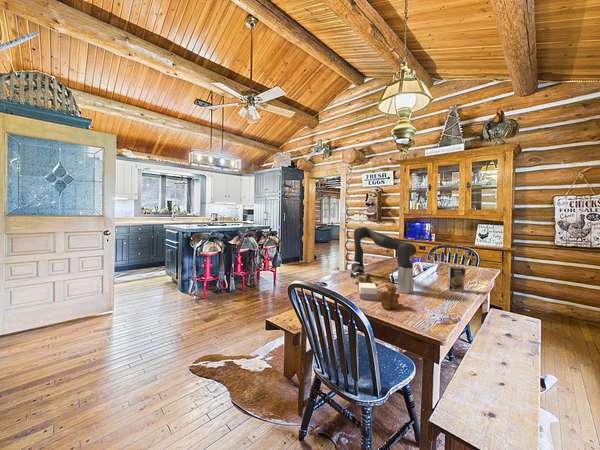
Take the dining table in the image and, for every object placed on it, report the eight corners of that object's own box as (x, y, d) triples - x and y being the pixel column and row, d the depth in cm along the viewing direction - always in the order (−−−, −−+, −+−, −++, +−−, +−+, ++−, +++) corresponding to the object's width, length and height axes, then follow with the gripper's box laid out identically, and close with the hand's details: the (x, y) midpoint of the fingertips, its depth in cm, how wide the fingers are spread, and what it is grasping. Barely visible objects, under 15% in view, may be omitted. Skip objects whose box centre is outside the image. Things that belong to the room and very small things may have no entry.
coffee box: (449, 291, 177) (450, 268, 176) (446, 288, 184) (448, 266, 182) (464, 292, 175) (465, 269, 173) (461, 289, 181) (462, 267, 180)
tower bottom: (375, 295, 169) (375, 289, 169) (378, 301, 159) (378, 295, 158) (358, 294, 171) (358, 288, 171) (359, 300, 160) (360, 294, 160)
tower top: (374, 289, 169) (374, 283, 169) (376, 294, 159) (377, 288, 159) (358, 288, 171) (359, 282, 170) (360, 293, 161) (360, 287, 160)
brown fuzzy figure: (404, 307, 149) (405, 285, 148) (388, 312, 141) (389, 289, 140) (390, 301, 157) (391, 280, 156) (374, 306, 150) (375, 284, 148)
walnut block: (364, 289, 179) (365, 275, 179) (365, 291, 174) (366, 277, 174) (357, 289, 180) (358, 275, 179) (358, 291, 175) (358, 277, 174)
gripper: (350, 267, 203) (350, 272, 187) (368, 268, 201) (371, 273, 185) (349, 276, 204) (350, 282, 188) (368, 277, 201) (370, 283, 185)
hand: (360, 278), depth 186 cm, fingers open, 8 cm apart
